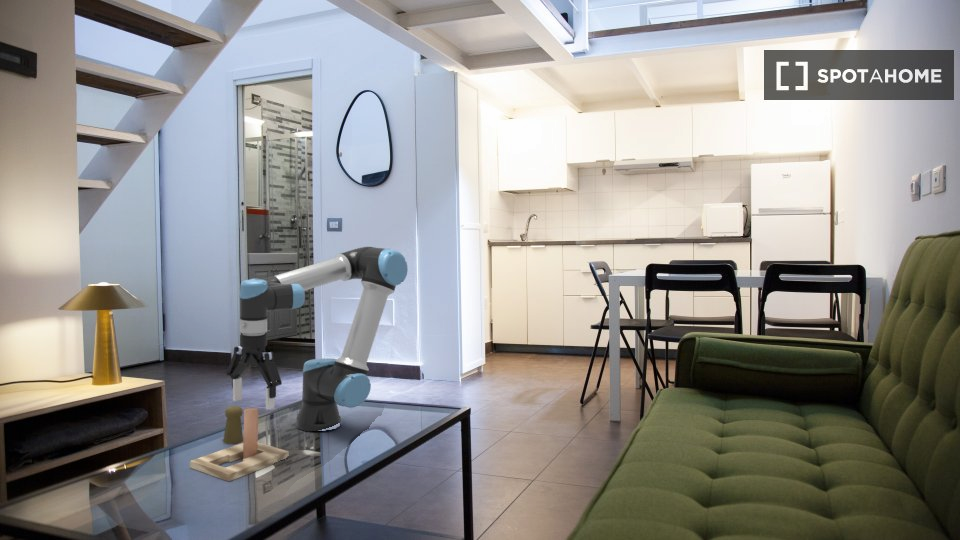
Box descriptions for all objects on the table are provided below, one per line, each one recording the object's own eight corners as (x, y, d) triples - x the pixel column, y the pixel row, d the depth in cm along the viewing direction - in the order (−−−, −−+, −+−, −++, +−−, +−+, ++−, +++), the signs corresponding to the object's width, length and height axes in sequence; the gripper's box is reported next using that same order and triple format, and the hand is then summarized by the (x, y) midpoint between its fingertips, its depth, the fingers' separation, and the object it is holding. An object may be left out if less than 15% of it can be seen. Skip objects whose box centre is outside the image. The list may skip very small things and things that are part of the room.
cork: (241, 444, 214) (242, 409, 213) (221, 444, 213) (222, 409, 212) (244, 437, 220) (245, 404, 219) (225, 437, 219) (225, 403, 218)
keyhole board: (250, 446, 212) (251, 440, 212) (288, 458, 204) (288, 451, 204) (190, 467, 193) (190, 460, 193) (228, 481, 185) (229, 474, 185)
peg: (250, 455, 205) (252, 407, 203) (260, 458, 203) (261, 409, 201) (239, 459, 201) (241, 410, 200) (249, 462, 199) (250, 412, 198)
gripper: (213, 329, 201) (214, 399, 204) (274, 341, 189) (274, 415, 191) (234, 325, 208) (234, 393, 210) (294, 336, 196) (294, 408, 198)
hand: (253, 404), depth 201 cm, fingers open, 13 cm apart
